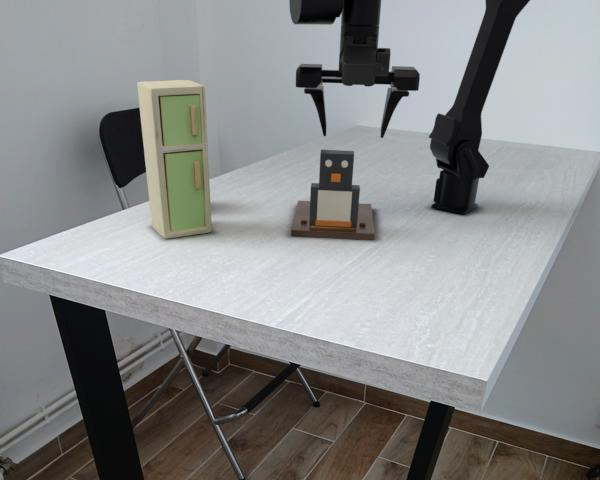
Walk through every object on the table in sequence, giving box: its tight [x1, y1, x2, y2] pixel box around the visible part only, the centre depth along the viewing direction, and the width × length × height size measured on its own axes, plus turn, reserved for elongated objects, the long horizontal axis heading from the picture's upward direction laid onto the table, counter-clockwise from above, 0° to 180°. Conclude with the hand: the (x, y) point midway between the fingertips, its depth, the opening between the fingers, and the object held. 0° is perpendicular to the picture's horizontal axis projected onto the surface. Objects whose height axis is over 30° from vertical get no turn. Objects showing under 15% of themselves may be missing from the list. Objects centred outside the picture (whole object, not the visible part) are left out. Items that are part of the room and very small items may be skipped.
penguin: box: [309, 149, 361, 228], centre depth 99 cm, size 11×8×3 cm
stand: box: [290, 200, 375, 241], centre depth 107 cm, size 16×13×2 cm
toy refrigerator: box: [136, 79, 213, 240], centre depth 96 cm, size 8×7×21 cm
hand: (353, 136), depth 104 cm, fingers open, 9 cm apart
